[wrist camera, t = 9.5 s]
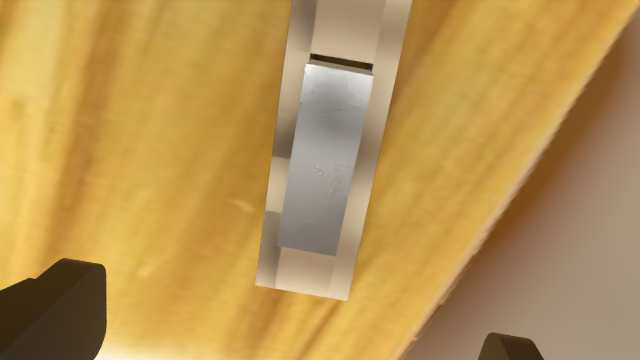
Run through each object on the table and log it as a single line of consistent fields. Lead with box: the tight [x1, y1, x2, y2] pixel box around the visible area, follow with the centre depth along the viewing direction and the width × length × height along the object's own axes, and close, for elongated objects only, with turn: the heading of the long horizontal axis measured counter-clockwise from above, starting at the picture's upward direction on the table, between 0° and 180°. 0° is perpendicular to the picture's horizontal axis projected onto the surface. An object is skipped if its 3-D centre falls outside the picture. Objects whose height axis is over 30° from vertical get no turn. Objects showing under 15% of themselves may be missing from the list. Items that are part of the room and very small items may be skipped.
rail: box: [255, 0, 412, 301], centre depth 26 cm, size 20×6×4 cm, turn 171°
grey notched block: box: [277, 59, 374, 257], centre depth 24 cm, size 9×3×8 cm, turn 170°
